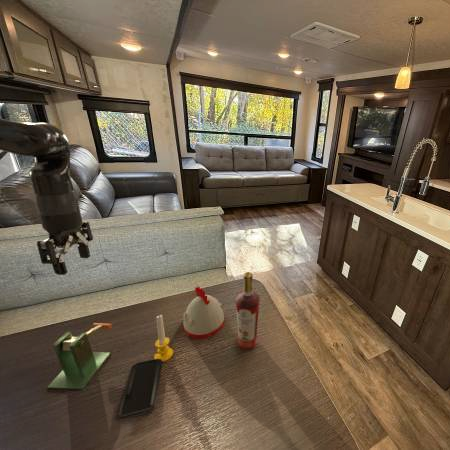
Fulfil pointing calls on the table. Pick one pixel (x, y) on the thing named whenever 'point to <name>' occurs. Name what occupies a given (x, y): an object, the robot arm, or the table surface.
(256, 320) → the liquor
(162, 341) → the candle
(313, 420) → the table surface
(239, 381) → the table surface
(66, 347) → the lever
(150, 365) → the phone
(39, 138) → the robot arm
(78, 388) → the bracket
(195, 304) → the kitchen timer
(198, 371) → the table surface
